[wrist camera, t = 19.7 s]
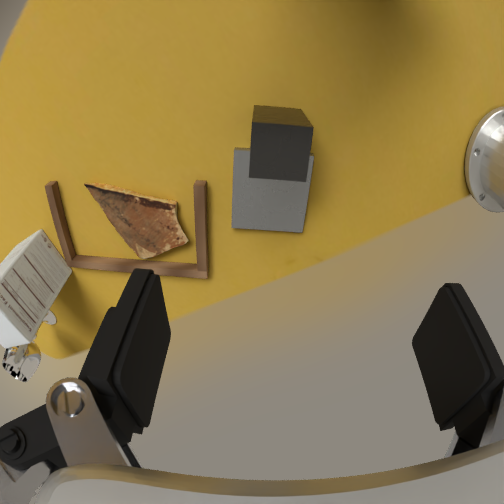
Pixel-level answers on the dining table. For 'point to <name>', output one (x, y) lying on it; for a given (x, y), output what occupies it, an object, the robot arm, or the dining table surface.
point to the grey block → (273, 171)
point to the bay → (130, 264)
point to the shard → (140, 219)
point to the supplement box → (29, 287)
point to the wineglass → (25, 356)
